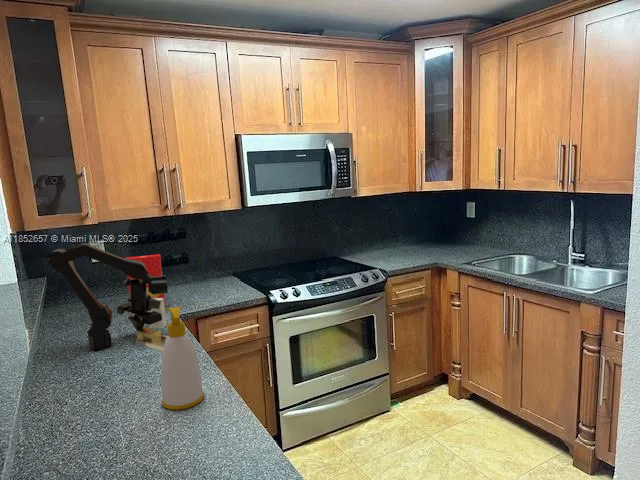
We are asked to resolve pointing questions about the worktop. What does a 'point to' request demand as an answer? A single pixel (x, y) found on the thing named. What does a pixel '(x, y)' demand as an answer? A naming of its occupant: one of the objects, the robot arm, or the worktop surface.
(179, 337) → the soap bottle
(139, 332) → the chip
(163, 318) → the skincare box
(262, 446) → the worktop surface
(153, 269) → the food packaging
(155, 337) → the chip
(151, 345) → the slot board
